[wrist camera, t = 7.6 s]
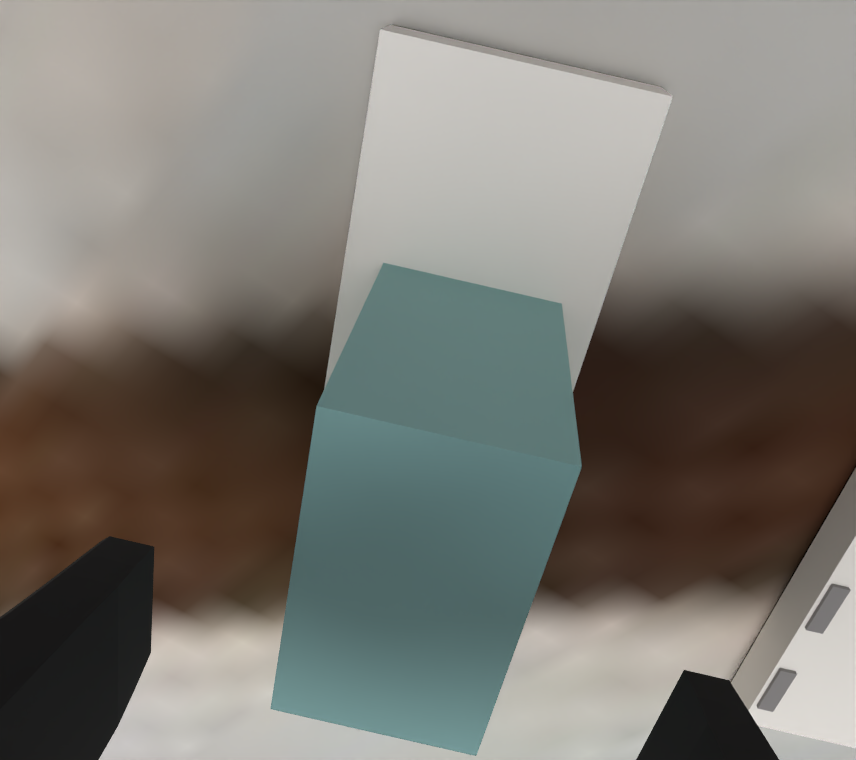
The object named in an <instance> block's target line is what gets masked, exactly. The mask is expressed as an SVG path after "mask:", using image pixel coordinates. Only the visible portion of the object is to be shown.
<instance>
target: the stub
mask: <svg viewBox="0 0 856 760" xmlns="http://www.w3.org/2000/svg"><path fill="white" fill-rule="evenodd" d="M672 98H673V96H672V95H670V94H669V93H668V92H667V91H666V90H665V89H663V88H662V87H660V86H655V85H651V84H647V83H642V82H638V81H634V80H629V79H625V78H620V77H616V76H612V75H607V74H603V73H599V72H594V71H590V70H586V69H581V68H577V67H573V66H568V65H564V64H560V63H555V62H551V61H547V60H542V59H538V58H533V57H529V56H525V55H520V54H516V53H512V52H507V51H503V50H499V49H494V48H490V47H486V46H481V45H477V44H473V43H468V42H464V41H460V40H455V39H451V38H446V37H442V36H438V35H433V34H429V33H425V32H420V31H416V30H412V29H407V28H403V27H399V26H394V25H389V26H387V27H384V28H382V29H380V33H379V39H378V46H377V52H376V59H375V65H374V72H373V78H372V84H371V91H370V97H369V104H368V110H367V117H366V123H365V129H364V136H363V142H362V149H361V155H360V162H359V168H358V175H357V181H356V187H355V194H354V200H353V207H352V213H351V220H350V226H349V233H348V239H347V245H346V252H345V258H344V265H343V271H342V278H341V284H340V291H339V297H338V303H337V310H336V316H335V323H334V329H333V336H332V342H331V348H330V355H329V361H328V368H327V374H326V381H325V387H324V391H323V393H322V395H321V398H320V400H319V402H318V404H317V406H316V413H315V419H314V426H313V433H312V439H311V446H310V452H309V459H308V466H307V472H306V479H305V485H304V492H303V499H302V505H301V512H300V518H299V525H298V532H297V538H296V545H295V551H294V558H293V565H292V571H291V578H290V584H289V591H288V598H287V604H286V611H285V617H284V624H283V631H282V637H281V644H280V650H279V657H278V664H277V670H276V677H275V683H274V690H273V697H272V703H271V709H273V710H277V711H282V712H286V713H290V714H295V715H299V716H303V717H308V718H312V719H317V720H321V721H325V722H330V723H334V724H339V725H343V726H347V727H352V728H356V729H360V730H365V731H369V732H374V733H378V734H382V735H387V736H391V737H396V738H400V739H404V740H409V741H413V742H417V743H422V744H426V745H431V746H435V747H439V748H444V749H448V750H453V751H457V752H461V753H466V754H470V755H475V756H476V755H477V752H478V749H479V746H480V744H481V741H482V738H483V736H484V733H485V730H486V727H487V725H488V722H489V719H490V716H491V714H492V711H493V708H494V705H495V703H496V700H497V697H498V695H499V692H500V689H501V686H502V684H503V681H504V678H505V675H506V673H507V670H508V667H509V664H510V662H511V659H512V656H513V653H514V651H515V648H516V645H517V643H518V640H519V637H520V634H521V632H522V629H523V626H524V623H525V621H526V618H527V615H528V612H529V610H530V607H531V604H532V602H533V599H534V596H535V593H536V591H537V588H538V585H539V582H540V580H541V577H542V574H543V571H544V569H545V566H546V563H547V561H548V558H549V555H550V552H551V550H552V547H553V544H554V541H555V539H556V536H557V533H558V530H559V528H560V525H561V522H562V520H563V517H564V514H565V511H566V509H567V506H568V503H569V500H570V498H571V495H572V492H573V489H574V487H575V484H576V481H577V479H578V476H579V473H580V470H581V468H582V464H581V456H580V448H579V440H578V432H577V424H576V416H575V407H574V399H573V390H574V387H575V384H576V381H577V379H578V376H579V373H580V370H581V367H582V364H583V361H584V358H585V355H586V352H587V349H588V346H589V343H590V340H591V337H592V334H593V331H594V328H595V325H596V323H597V320H598V317H599V314H600V311H601V308H602V305H603V302H604V299H605V296H606V293H607V290H608V287H609V284H610V281H611V278H612V275H613V272H614V269H615V266H616V264H617V261H618V258H619V255H620V252H621V249H622V246H623V243H624V240H625V237H626V234H627V231H628V228H629V225H630V222H631V219H632V216H633V213H634V210H635V207H636V205H637V202H638V199H639V196H640V193H641V190H642V187H643V184H644V181H645V178H646V175H647V172H648V169H649V166H650V163H651V160H652V157H653V154H654V151H655V148H656V146H657V143H658V140H659V137H660V134H661V131H662V128H663V125H664V122H665V119H666V116H667V113H668V110H669V107H670V104H671V101H672Z"/></svg>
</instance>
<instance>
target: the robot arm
mask: <svg viewBox="0 0 856 760" xmlns="http://www.w3.org/2000/svg"><path fill="white" fill-rule="evenodd" d="M153 569H154V547H153V546H149V545H145V544H140V543H136V542H132V541H128V540H123V539H119V538H115V537H108V538H106V539H104V540H102V541H101V542H99V543H98V544H97V545H96V546H94V547H93V548H92V549H90V550H89V551H88V552H86V553H85V554H84V555H82V556H81V557H80V558H79V559H77V560H76V561H75V562H73V563H72V564H71V565H69V566H68V567H67V568H66V569H64V570H63V571H62V572H60V573H59V574H58V575H56V576H55V577H54V578H52V579H51V580H50V581H48V582H47V583H46V584H44V585H43V586H42V587H40V588H39V589H38V590H36V591H35V592H34V593H32V594H31V595H30V596H28V597H27V598H26V599H24V600H23V601H22V602H20V603H19V604H18V605H16V606H15V607H14V608H12V609H11V610H9V611H8V612H7V613H5V614H4V615H2V616H1V617H0V760H98V759H99V758H100V756H101V754H102V753H103V751H104V749H105V747H106V746H107V744H108V742H109V741H110V739H111V737H112V735H113V734H114V732H115V730H116V728H117V727H118V724H119V722H120V720H121V718H122V716H123V714H124V711H125V709H126V707H127V705H128V703H129V701H130V698H131V696H132V694H133V692H134V690H135V687H136V685H137V683H138V681H139V678H140V676H141V674H142V671H143V669H144V667H145V665H146V662H147V660H148V658H149V655H150V653H151V629H152V599H153ZM636 760H779V759H778V757H777V756H776V754H775V753H774V751H773V749H772V748H771V746H770V745H769V743H768V741H767V740H766V738H765V737H764V735H763V733H762V732H761V730H760V729H759V727H758V725H757V724H756V722H755V721H754V719H753V717H752V716H751V714H750V712H749V711H748V709H747V708H746V706H745V705H744V703H743V701H742V700H741V698H740V697H739V695H738V693H737V692H736V690H735V689H734V687H733V686H732V684H731V683H730V681H729V680H725V679H721V678H716V677H712V676H708V675H703V674H699V673H695V672H690V671H686V670H684V671H683V673H682V675H681V677H680V679H679V680H678V682H677V684H676V686H675V688H674V690H673V692H672V694H671V695H670V697H669V699H668V701H667V703H666V705H665V707H664V709H663V711H662V712H661V714H660V716H659V718H658V720H657V722H656V724H655V726H654V727H653V729H652V731H651V733H650V735H649V737H648V739H647V741H646V742H645V744H644V746H643V748H642V750H641V752H640V754H639V756H638V758H637V759H636Z"/></svg>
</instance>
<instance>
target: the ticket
mask: <svg viewBox="0 0 856 760" xmlns="http://www.w3.org/2000/svg"><path fill="white" fill-rule="evenodd" d="M731 684H732V686H733V687H734V689H735V690H736V692H737V693H738V695H739V697H740V698H741V700H742V701H743V703H744V705H745V706H746V708H747V709H748V711H749V712H750V714H751V716H752V717H753V719H754V721H755V722H756V724H757V725H758V726H761V727H765V728H769V729H774V730H778V731H782V732H787V733H791V734H796V735H800V736H804V737H809V738H813V739H817V740H822V741H826V742H831V743H835V744H839V745H844V746H848V747H853V748H856V468H855V470H854V471H853V473H852V475H851V477H850V478H849V480H848V482H847V484H846V485H845V487H844V489H843V490H842V492H841V494H840V496H839V497H838V499H837V501H836V503H835V504H834V506H833V508H832V509H831V511H830V513H829V515H828V516H827V518H826V520H825V521H824V523H823V525H822V527H821V528H820V530H819V532H818V534H817V535H816V537H815V539H814V540H813V542H812V544H811V546H810V547H809V549H808V551H807V553H806V554H805V556H804V558H803V559H802V561H801V563H800V565H799V566H798V568H797V570H796V571H795V573H794V575H793V577H792V578H791V580H790V582H789V584H788V585H787V587H786V589H785V590H784V592H783V594H782V596H781V597H780V599H779V601H778V603H777V604H776V606H775V608H774V609H773V611H772V613H771V615H770V616H769V618H768V620H767V621H766V623H765V625H764V627H763V628H762V630H761V632H760V634H759V635H758V637H757V639H756V640H755V642H754V644H753V646H752V647H751V649H750V651H749V653H748V654H747V656H746V658H745V659H744V661H743V663H742V665H741V666H740V668H739V670H738V671H737V673H736V675H735V677H734V678H733V680H732V682H731Z"/></svg>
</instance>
